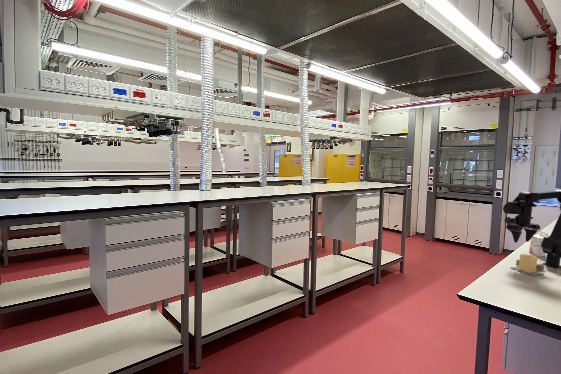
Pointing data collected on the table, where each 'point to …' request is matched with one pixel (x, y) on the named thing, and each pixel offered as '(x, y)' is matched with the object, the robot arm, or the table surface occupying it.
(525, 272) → the slate pad
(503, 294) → the table surface
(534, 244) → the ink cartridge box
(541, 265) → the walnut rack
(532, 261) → the ochre block
